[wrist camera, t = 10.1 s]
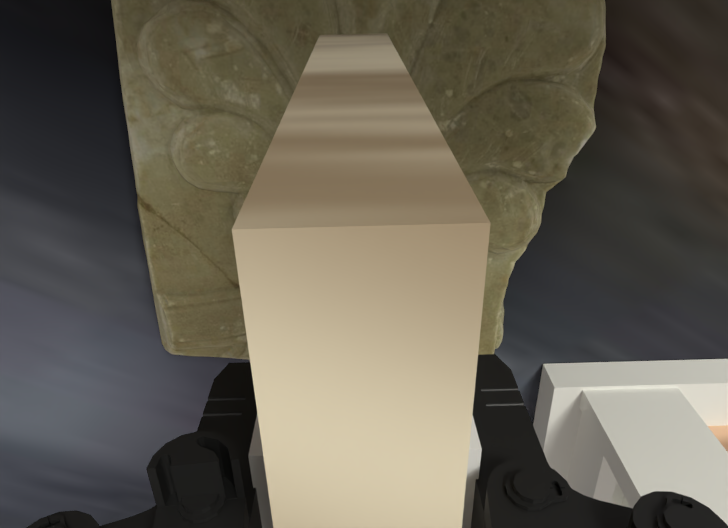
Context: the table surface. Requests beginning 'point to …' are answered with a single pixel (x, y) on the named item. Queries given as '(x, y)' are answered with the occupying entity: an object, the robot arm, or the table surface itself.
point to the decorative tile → (273, 93)
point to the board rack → (637, 428)
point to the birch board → (362, 299)
